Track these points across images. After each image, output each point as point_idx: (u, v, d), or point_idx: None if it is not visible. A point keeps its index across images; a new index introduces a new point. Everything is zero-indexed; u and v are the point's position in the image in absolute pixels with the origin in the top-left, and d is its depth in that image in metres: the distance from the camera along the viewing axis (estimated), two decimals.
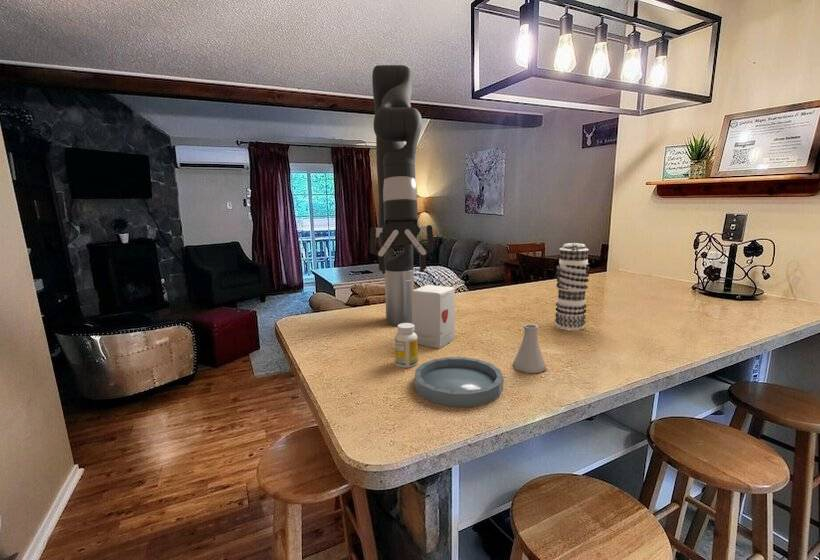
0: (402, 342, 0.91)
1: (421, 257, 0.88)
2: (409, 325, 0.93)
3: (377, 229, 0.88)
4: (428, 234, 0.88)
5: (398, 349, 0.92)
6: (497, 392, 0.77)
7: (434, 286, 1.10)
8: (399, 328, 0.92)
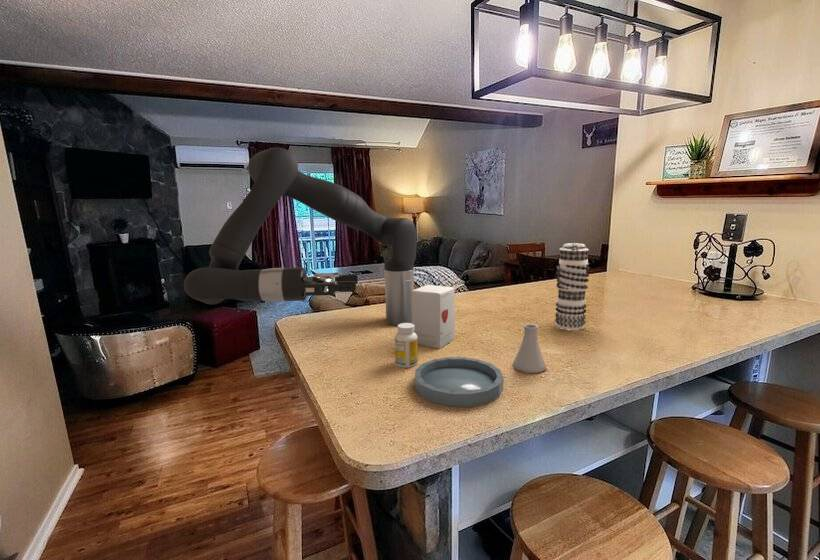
0: (402, 342, 0.91)
1: None
2: (409, 325, 0.93)
3: None
4: None
5: (398, 349, 0.92)
6: (497, 392, 0.77)
7: (434, 286, 1.10)
8: (399, 328, 0.92)
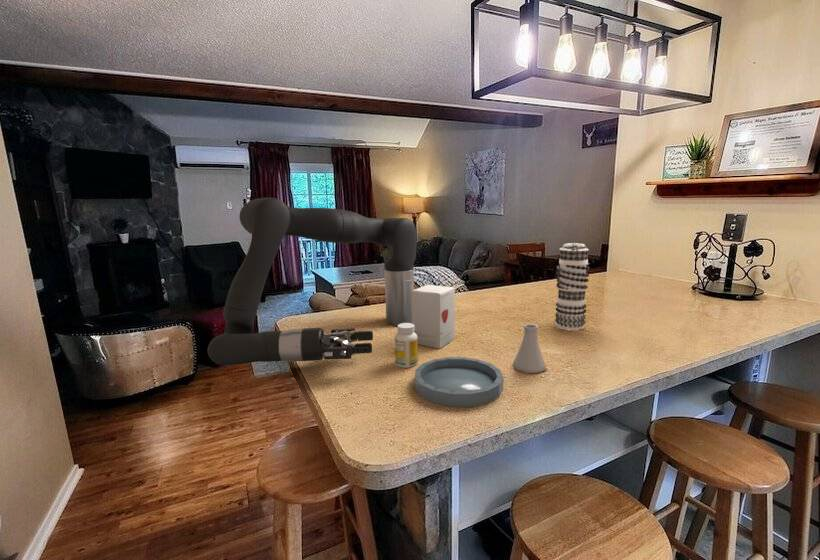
0: (402, 342, 0.91)
1: None
2: (409, 325, 0.93)
3: None
4: None
5: (398, 349, 0.92)
6: (497, 392, 0.77)
7: (434, 286, 1.10)
8: (399, 328, 0.92)
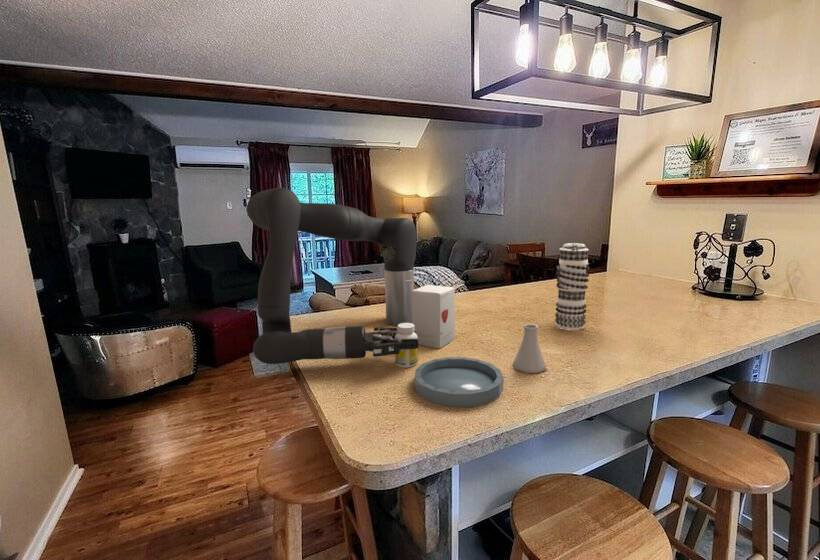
0: None
1: None
2: (409, 325, 0.93)
3: None
4: None
5: None
6: (497, 392, 0.77)
7: (434, 286, 1.10)
8: (399, 328, 0.92)
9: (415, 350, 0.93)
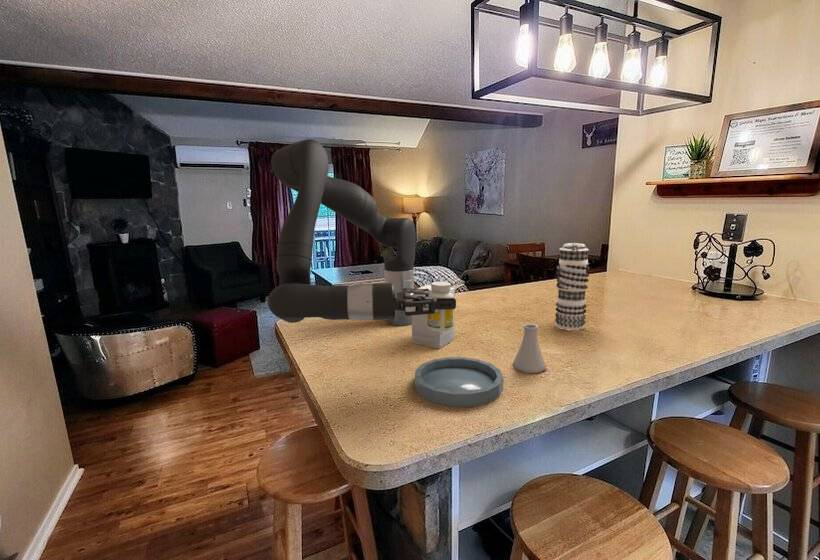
0: None
1: None
2: (445, 283, 0.82)
3: None
4: None
5: None
6: (497, 392, 0.77)
7: None
8: (434, 286, 0.81)
9: (451, 312, 0.81)
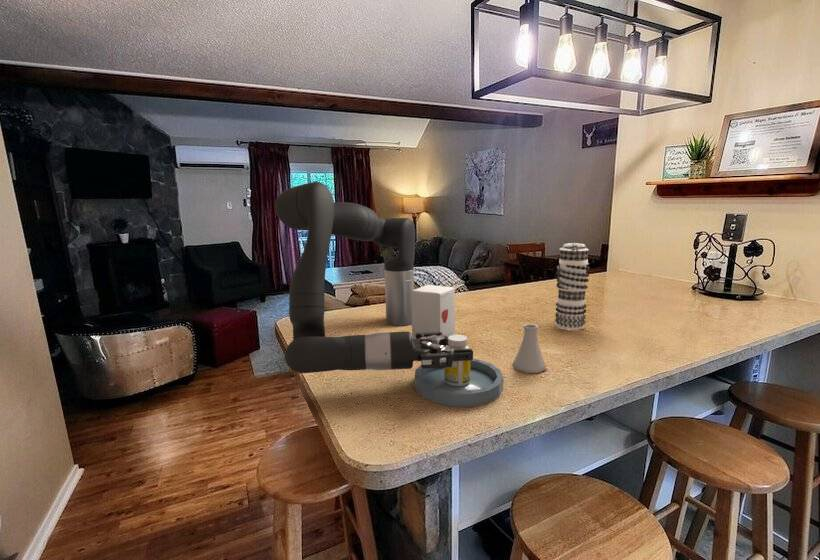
0: None
1: None
2: (461, 337, 0.81)
3: None
4: None
5: None
6: (497, 392, 0.77)
7: (434, 286, 1.10)
8: (451, 341, 0.80)
9: (468, 366, 0.81)
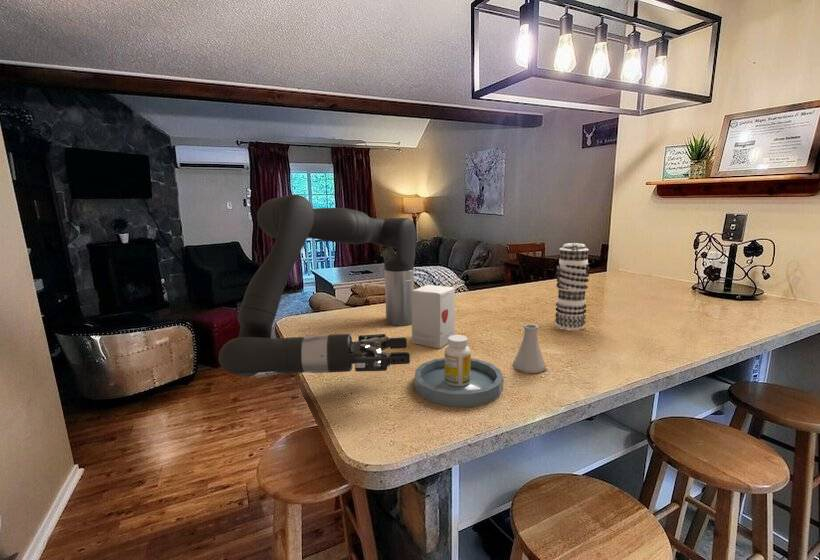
0: (454, 357, 0.80)
1: None
2: (461, 338, 0.81)
3: None
4: None
5: (449, 365, 0.80)
6: (497, 392, 0.77)
7: (434, 286, 1.10)
8: (451, 341, 0.80)
9: (468, 366, 0.81)
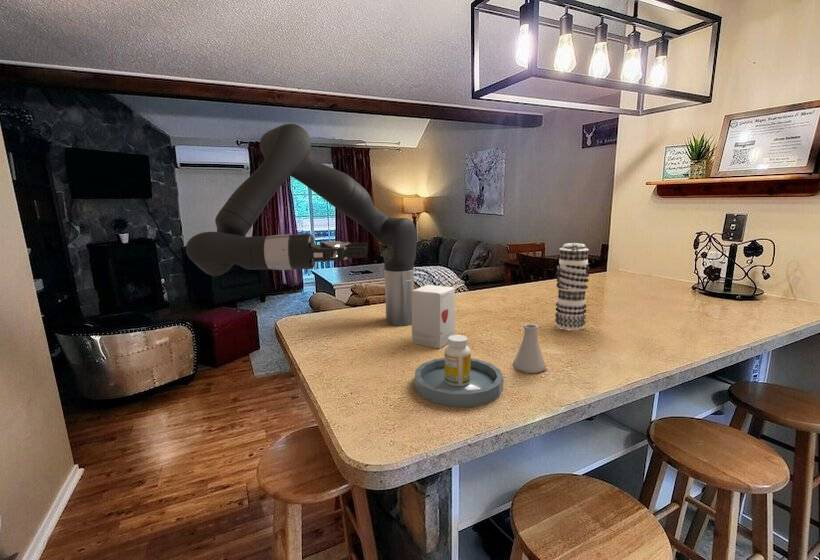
0: (454, 357, 0.80)
1: (350, 257, 0.82)
2: (461, 338, 0.81)
3: None
4: None
5: (449, 365, 0.80)
6: (497, 392, 0.77)
7: (434, 286, 1.10)
8: (451, 341, 0.80)
9: (468, 366, 0.81)
